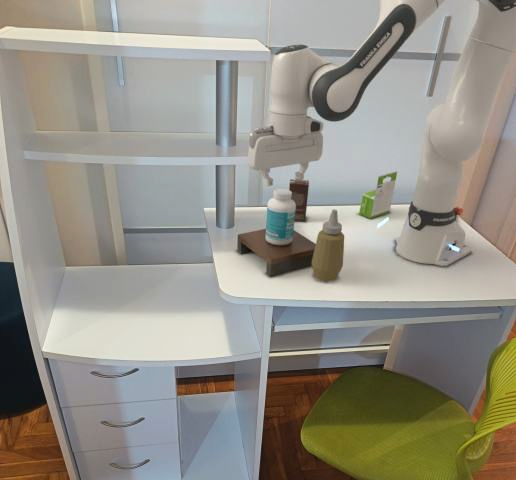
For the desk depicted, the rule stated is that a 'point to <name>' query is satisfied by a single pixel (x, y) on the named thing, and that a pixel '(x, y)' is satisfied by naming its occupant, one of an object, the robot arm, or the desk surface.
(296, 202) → the box
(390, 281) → the desk surface
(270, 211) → the pill bottle
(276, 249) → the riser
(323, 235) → the squeeze bottle
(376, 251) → the desk surface
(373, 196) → the ink box
